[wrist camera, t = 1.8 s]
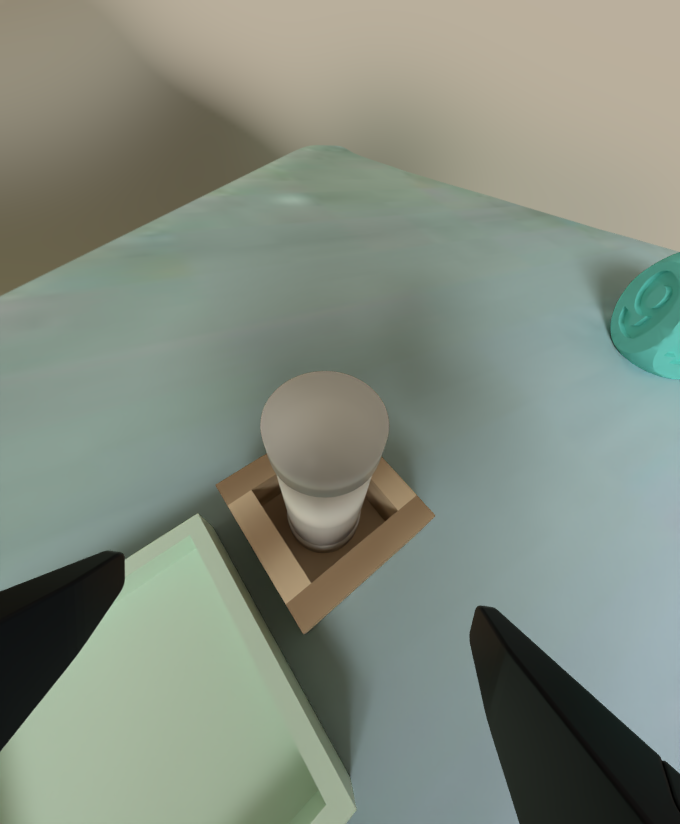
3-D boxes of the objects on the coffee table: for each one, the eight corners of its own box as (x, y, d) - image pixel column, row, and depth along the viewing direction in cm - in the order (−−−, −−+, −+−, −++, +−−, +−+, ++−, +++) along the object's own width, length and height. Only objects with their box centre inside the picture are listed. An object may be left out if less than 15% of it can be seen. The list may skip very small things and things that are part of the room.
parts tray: (350, 778, 14) (356, 810, 12) (-16, 1206, 9) (-138, 1417, 7) (213, 527, 20) (197, 513, 18) (-62, 709, 15) (-138, 726, 12)
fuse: (372, 523, 20) (415, 431, 11) (315, 569, 18) (309, 509, 9) (330, 471, 21) (337, 354, 12) (275, 509, 20) (236, 407, 11)
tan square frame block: (417, 534, 20) (435, 515, 17) (306, 632, 17) (303, 634, 14) (336, 439, 24) (338, 409, 21) (232, 507, 21) (215, 484, 17)
